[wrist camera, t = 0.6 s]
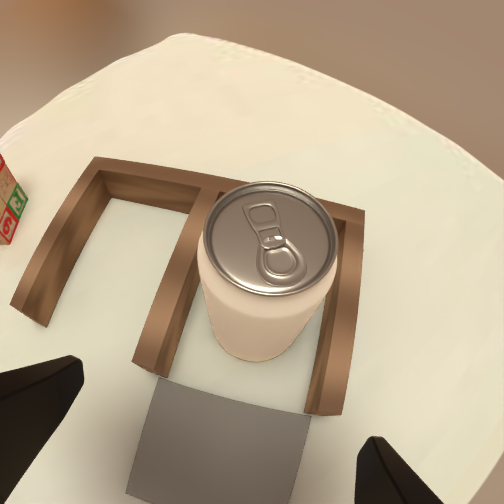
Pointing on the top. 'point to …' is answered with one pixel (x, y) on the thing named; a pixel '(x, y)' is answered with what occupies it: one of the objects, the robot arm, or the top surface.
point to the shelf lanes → (189, 266)
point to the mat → (215, 450)
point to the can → (265, 266)
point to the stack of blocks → (9, 203)
